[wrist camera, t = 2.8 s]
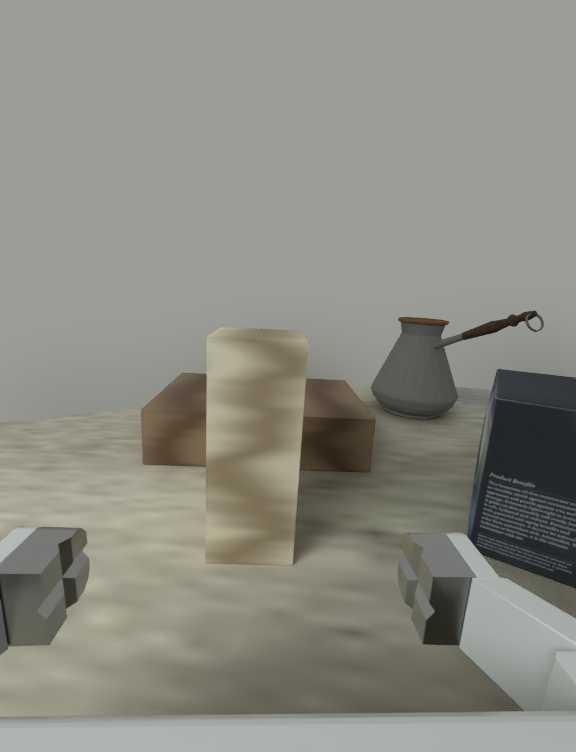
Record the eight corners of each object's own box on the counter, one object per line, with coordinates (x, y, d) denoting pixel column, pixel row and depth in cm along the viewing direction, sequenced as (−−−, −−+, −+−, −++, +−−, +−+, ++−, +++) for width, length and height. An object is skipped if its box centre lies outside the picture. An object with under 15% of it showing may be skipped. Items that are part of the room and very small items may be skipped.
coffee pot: (354, 400, 54) (364, 299, 51) (415, 396, 59) (429, 302, 55) (468, 464, 35) (497, 308, 32) (547, 452, 39) (581, 313, 36)
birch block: (205, 563, 21) (206, 336, 18) (218, 511, 25) (221, 327, 22) (292, 565, 21) (308, 342, 18) (289, 513, 26) (301, 331, 23)
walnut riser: (143, 464, 31) (141, 409, 30) (182, 411, 45) (182, 372, 44) (369, 472, 32) (375, 419, 31) (341, 418, 46) (344, 380, 45)
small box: (472, 480, 32) (494, 365, 30) (561, 505, 29) (594, 378, 27) (460, 549, 23) (490, 391, 21) (588, 595, 20) (641, 416, 18)
